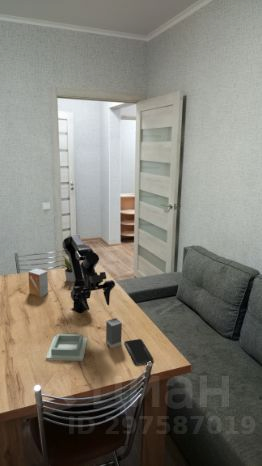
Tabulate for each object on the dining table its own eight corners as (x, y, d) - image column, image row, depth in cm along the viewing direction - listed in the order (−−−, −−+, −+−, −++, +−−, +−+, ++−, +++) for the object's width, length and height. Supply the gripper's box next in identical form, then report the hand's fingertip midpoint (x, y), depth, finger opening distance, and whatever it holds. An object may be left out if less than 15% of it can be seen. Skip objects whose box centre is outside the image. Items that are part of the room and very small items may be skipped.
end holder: (54, 338, 138) (53, 331, 137) (87, 339, 138) (87, 332, 137) (45, 360, 124) (45, 351, 123) (82, 361, 124) (82, 352, 124)
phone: (135, 363, 123) (123, 341, 136) (134, 366, 123) (123, 343, 137) (154, 360, 125) (141, 338, 139) (154, 362, 125) (141, 340, 139)
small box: (29, 293, 178) (27, 271, 175) (37, 289, 183) (36, 267, 180) (40, 297, 174) (39, 274, 171) (48, 293, 180) (47, 271, 176)
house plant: (87, 276, 204) (87, 251, 200) (81, 285, 191) (81, 258, 187) (64, 274, 205) (64, 249, 201) (57, 283, 192) (57, 257, 188)
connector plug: (105, 342, 137) (106, 320, 134) (115, 339, 139) (116, 317, 137) (111, 348, 133) (111, 326, 130) (121, 344, 135) (122, 323, 133)
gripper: (73, 269, 134) (82, 305, 127) (114, 263, 142) (125, 296, 136) (67, 279, 142) (75, 314, 136) (106, 273, 151) (116, 305, 145)
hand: (98, 307), depth 138 cm, fingers open, 9 cm apart
